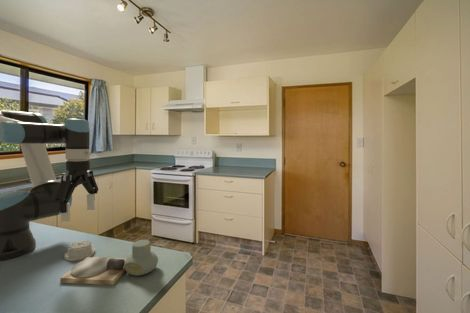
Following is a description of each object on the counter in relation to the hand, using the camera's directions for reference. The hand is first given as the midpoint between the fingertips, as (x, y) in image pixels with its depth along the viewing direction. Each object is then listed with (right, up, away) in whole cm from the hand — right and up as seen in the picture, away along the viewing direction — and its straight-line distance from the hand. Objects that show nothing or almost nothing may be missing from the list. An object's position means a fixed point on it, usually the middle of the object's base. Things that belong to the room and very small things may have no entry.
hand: (79, 214), depth 88 cm
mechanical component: (-1, -16, +2) cm, 16 cm away
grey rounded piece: (+27, -18, -8) cm, 34 cm away
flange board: (+14, -17, -10) cm, 24 cm away
